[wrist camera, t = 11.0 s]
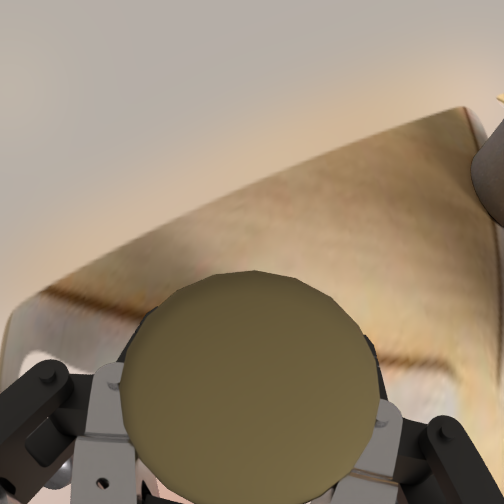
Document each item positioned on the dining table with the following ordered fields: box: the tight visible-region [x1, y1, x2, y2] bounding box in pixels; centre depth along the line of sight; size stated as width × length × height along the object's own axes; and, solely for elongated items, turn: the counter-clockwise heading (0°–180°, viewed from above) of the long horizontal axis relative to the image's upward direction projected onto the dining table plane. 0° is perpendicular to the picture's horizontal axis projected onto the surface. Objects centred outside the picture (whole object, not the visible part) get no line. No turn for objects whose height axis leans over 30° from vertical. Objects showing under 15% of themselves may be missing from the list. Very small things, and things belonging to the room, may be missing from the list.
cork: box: [119, 270, 380, 504], centre depth 9 cm, size 6×6×11 cm
